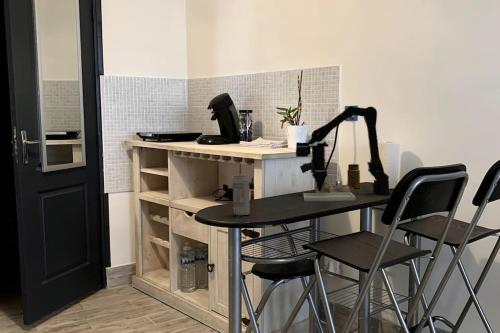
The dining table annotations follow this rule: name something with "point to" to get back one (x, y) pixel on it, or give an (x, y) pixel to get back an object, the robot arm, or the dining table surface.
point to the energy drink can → (241, 194)
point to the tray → (328, 197)
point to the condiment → (353, 175)
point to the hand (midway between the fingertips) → (319, 190)
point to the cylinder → (338, 184)
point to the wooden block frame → (332, 188)
